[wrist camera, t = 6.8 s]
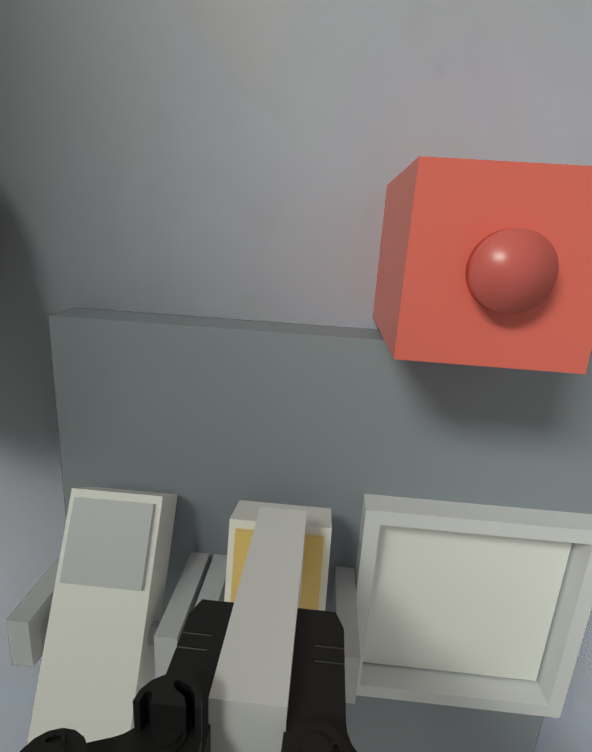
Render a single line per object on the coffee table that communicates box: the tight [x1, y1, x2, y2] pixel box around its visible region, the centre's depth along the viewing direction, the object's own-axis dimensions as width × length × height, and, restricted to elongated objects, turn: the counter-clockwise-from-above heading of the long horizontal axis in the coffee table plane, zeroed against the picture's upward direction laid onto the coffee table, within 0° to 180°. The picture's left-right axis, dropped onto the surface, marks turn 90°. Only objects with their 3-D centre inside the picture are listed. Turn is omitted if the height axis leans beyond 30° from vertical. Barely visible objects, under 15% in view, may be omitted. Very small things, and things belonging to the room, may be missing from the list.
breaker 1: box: [27, 487, 178, 744], centre depth 18 cm, size 10×4×2 cm, turn 175°
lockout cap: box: [373, 156, 592, 374], centre depth 15 cm, size 5×5×8 cm
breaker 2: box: [224, 500, 332, 611], centre depth 18 cm, size 10×4×2 cm, turn 176°
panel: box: [6, 308, 592, 752], centre depth 20 cm, size 22×22×7 cm
